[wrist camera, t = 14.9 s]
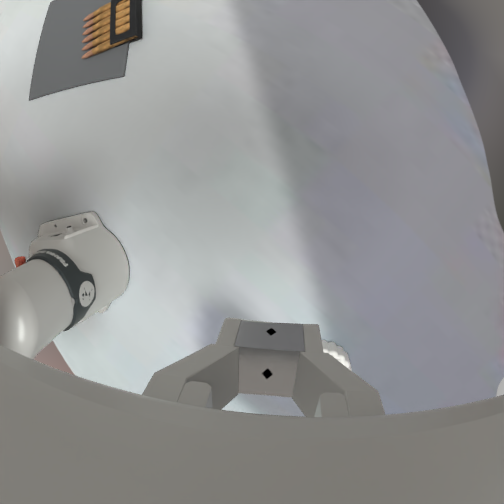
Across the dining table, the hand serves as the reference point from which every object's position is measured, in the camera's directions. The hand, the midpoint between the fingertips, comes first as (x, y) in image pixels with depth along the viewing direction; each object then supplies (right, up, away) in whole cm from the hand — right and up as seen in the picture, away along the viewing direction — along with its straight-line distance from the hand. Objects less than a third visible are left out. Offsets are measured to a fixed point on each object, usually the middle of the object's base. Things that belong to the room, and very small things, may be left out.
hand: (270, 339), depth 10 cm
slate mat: (-32, +43, +26) cm, 60 cm away
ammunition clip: (-19, +41, +24) cm, 51 cm away
